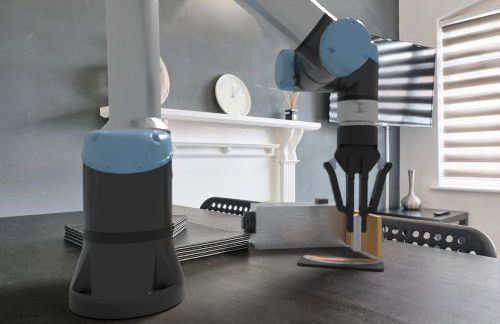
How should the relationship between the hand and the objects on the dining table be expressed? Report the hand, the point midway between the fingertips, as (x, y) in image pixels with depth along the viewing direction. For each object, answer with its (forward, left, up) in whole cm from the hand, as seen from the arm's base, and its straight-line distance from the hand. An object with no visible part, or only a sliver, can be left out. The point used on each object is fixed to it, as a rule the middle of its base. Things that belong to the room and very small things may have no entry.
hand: (356, 249), depth 76 cm
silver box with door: (-9, +15, -2) cm, 18 cm away
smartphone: (-4, -2, -3) cm, 5 cm away
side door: (+4, +5, -1) cm, 6 cm away
